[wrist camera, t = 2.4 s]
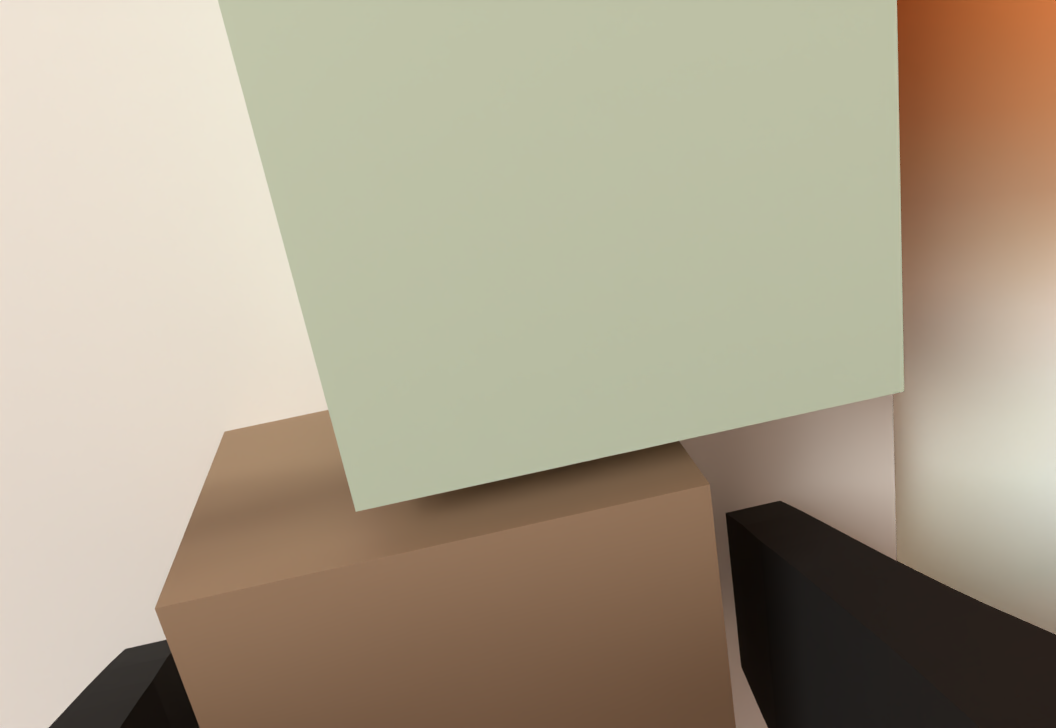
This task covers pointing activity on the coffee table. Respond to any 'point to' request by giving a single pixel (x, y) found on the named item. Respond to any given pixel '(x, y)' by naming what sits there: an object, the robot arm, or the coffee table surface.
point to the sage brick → (577, 220)
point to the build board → (209, 342)
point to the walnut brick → (447, 595)
